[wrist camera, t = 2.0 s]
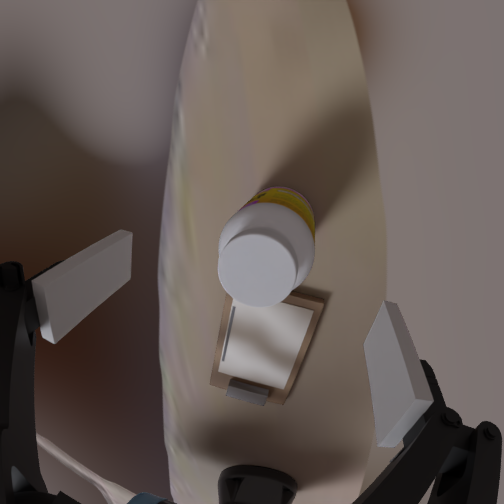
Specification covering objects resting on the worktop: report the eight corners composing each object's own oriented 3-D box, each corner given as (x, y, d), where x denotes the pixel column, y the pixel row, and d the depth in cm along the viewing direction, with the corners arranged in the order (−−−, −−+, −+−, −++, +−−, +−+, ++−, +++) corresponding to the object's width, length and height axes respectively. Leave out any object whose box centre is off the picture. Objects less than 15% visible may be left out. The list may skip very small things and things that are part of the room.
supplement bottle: (271, 171, 28) (241, 190, 16) (328, 213, 28) (339, 262, 17) (233, 226, 31) (182, 279, 19) (287, 265, 31) (269, 339, 19)
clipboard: (284, 399, 37) (282, 411, 35) (211, 379, 38) (206, 390, 36) (323, 299, 31) (324, 309, 29) (231, 274, 32) (226, 283, 30)
